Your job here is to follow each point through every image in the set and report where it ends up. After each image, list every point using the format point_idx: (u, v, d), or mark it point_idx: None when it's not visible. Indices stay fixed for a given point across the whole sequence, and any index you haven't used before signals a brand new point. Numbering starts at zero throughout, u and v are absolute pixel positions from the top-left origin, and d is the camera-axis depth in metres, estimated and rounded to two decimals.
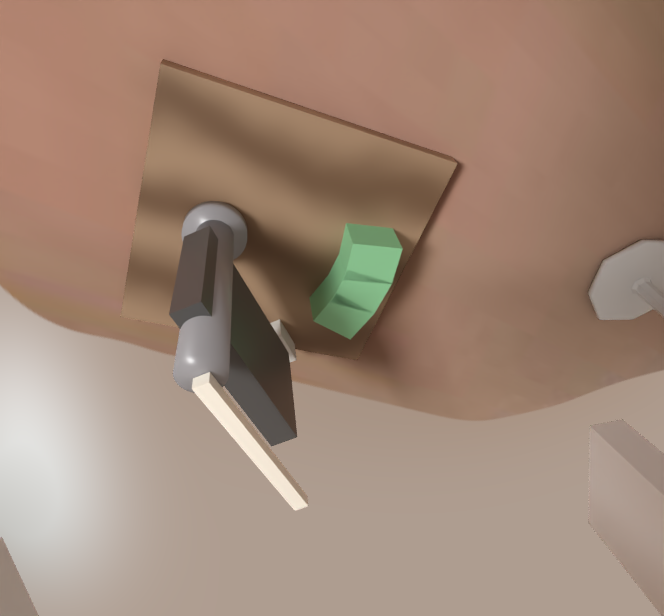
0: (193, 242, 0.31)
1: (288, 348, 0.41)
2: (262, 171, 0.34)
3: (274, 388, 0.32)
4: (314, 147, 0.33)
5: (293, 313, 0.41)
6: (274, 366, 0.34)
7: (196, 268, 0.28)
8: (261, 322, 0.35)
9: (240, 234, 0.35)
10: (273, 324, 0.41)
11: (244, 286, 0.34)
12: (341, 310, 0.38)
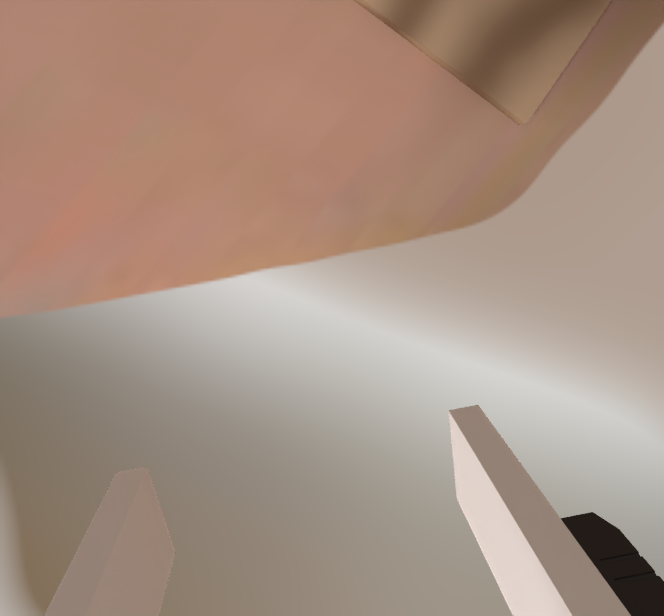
0: None
1: None
2: None
3: None
4: None
5: None
6: None
7: None
8: None
9: None
10: None
11: None
12: None
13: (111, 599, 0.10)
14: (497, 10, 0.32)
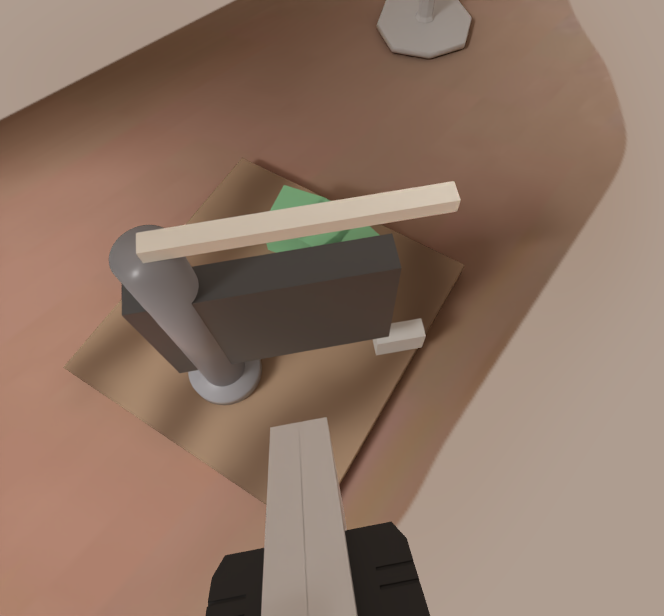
0: None
1: (398, 323, 0.31)
2: None
3: None
4: None
5: None
6: None
7: None
8: None
9: None
10: (374, 344, 0.33)
11: None
12: None
13: None
14: (265, 416, 0.31)
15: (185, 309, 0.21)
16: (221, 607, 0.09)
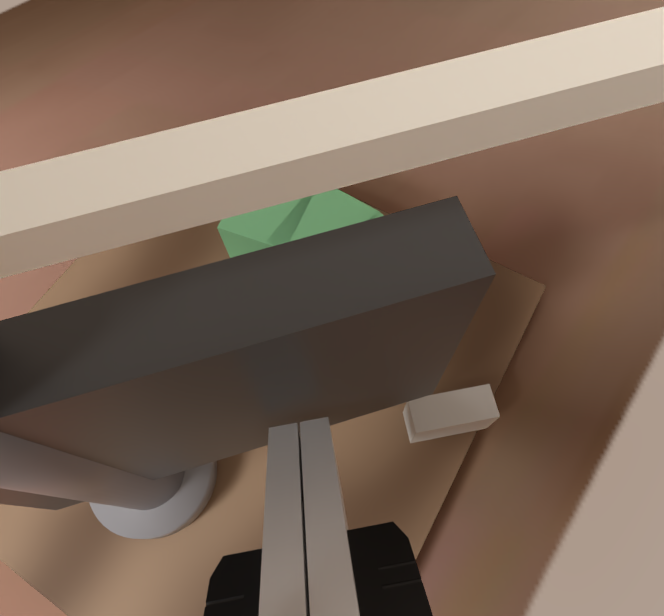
0: None
1: (451, 394, 0.18)
2: None
3: None
4: (98, 288, 0.23)
5: None
6: None
7: None
8: None
9: None
10: (407, 425, 0.19)
11: None
12: None
13: (306, 532, 0.10)
14: None
15: None
16: (219, 607, 0.09)
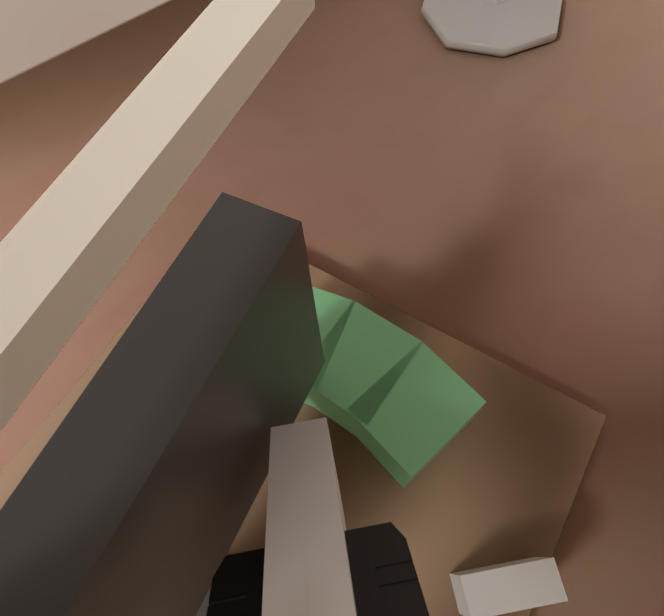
0: None
1: (510, 570, 0.16)
2: None
3: None
4: None
5: (438, 535, 0.18)
6: None
7: None
8: None
9: None
10: (456, 593, 0.17)
11: None
12: (397, 407, 0.17)
13: None
14: None
15: None
16: (222, 607, 0.09)
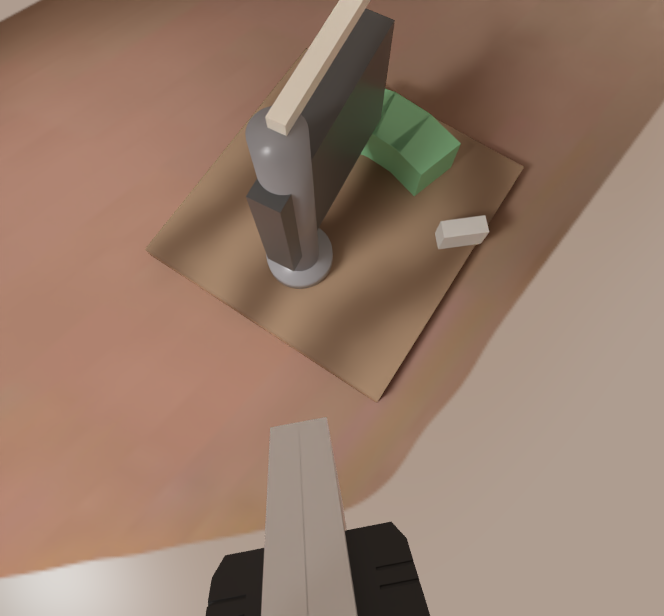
0: (280, 257, 0.29)
1: (464, 219, 0.34)
2: None
3: None
4: None
5: (430, 217, 0.36)
6: None
7: (265, 231, 0.26)
8: None
9: None
10: (437, 239, 0.35)
11: None
12: (416, 144, 0.34)
13: None
14: (336, 300, 0.34)
15: None
16: (221, 607, 0.09)
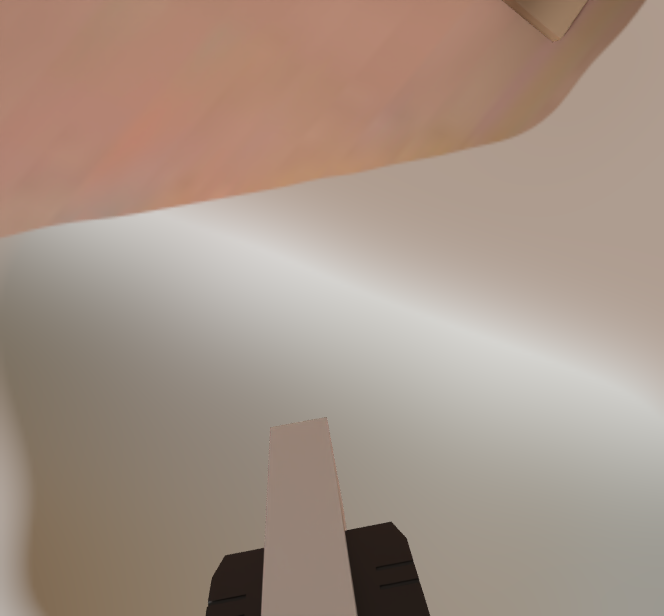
0: None
1: None
2: None
3: None
4: None
5: None
6: None
7: None
8: None
9: None
10: None
11: None
12: None
13: None
14: None
15: None
16: (221, 607, 0.09)
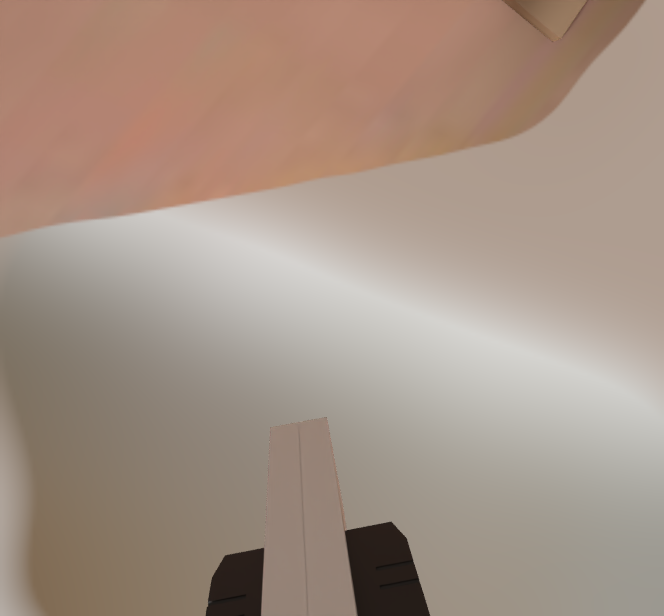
0: None
1: None
2: None
3: None
4: None
5: None
6: None
7: None
8: None
9: None
10: None
11: None
12: None
13: None
14: None
15: None
16: (221, 607, 0.09)
